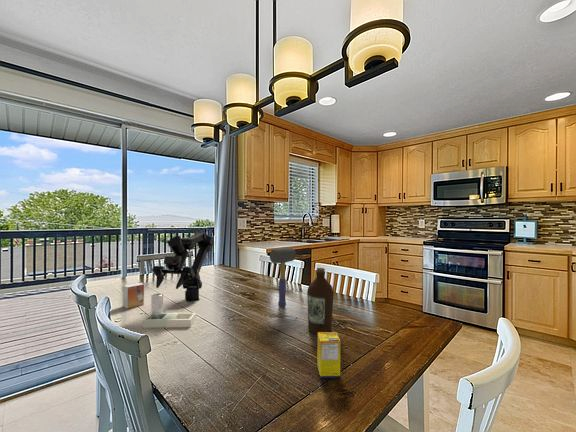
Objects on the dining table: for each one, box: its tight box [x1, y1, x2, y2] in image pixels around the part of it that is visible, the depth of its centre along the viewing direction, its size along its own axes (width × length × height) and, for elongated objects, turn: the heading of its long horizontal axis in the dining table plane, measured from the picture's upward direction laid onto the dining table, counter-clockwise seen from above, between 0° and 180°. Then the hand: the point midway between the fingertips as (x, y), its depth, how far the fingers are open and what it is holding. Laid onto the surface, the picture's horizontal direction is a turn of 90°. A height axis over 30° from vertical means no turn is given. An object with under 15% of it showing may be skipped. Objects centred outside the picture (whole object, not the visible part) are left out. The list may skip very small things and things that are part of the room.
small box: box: [122, 282, 145, 309], centre depth 136 cm, size 8×6×10 cm
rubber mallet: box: [269, 247, 297, 309], centre depth 137 cm, size 12×8×30 cm, turn 131°
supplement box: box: [316, 331, 341, 379], centre depth 81 cm, size 6×6×11 cm
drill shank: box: [150, 293, 164, 319], centre depth 115 cm, size 4×4×12 cm
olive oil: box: [306, 267, 335, 335], centre depth 111 cm, size 11×11×25 cm
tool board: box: [141, 312, 197, 329], centre depth 115 cm, size 19×8×3 cm, turn 93°
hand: (166, 288), depth 122 cm, fingers open, 9 cm apart
